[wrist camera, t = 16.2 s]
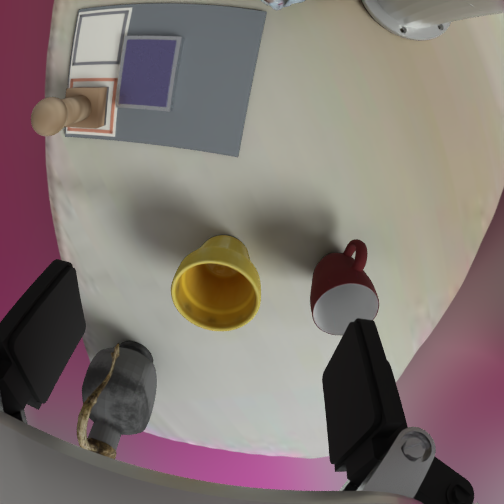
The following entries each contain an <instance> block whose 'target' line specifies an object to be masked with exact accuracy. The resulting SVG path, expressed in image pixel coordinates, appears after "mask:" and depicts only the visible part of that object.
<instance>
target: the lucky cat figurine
mask: <svg viewBox="0 0 504 504" xmlns="http://www.w3.org/2000/svg"><path fill="white" fill-rule="evenodd" d="M261 1H262V2H263V3H265V4H266V5H269V6H271V7H272V8H273V9H274V10H280V9H282V8H283V7H286V6H290V5H291V4H292V3H298V2H299V3H301V2H303V1H305V0H261Z"/></svg>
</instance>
